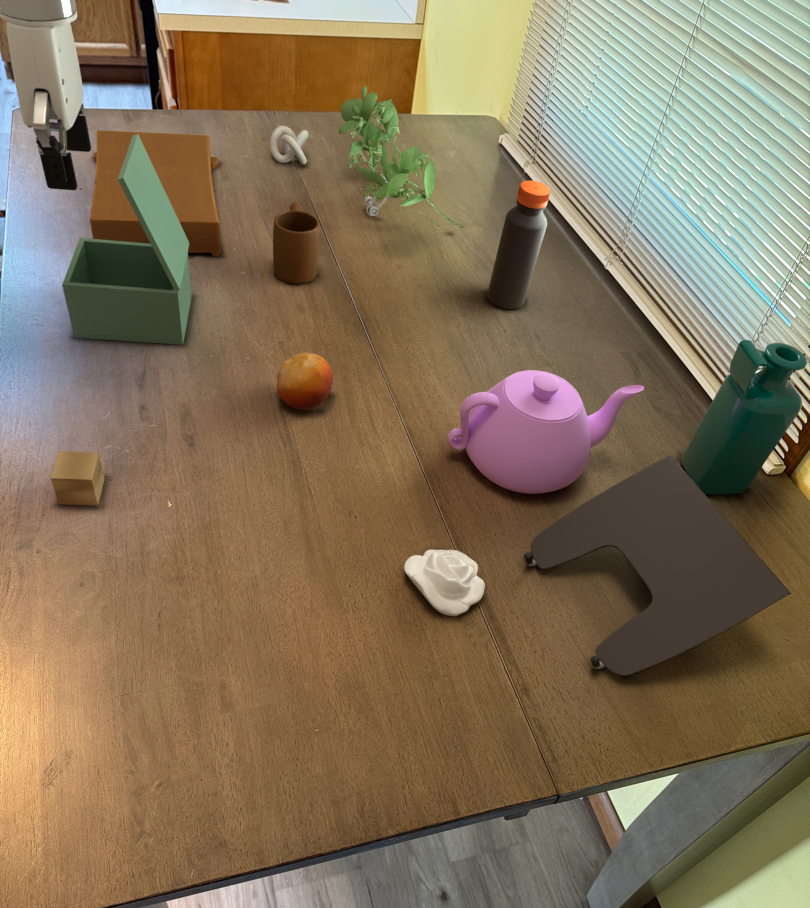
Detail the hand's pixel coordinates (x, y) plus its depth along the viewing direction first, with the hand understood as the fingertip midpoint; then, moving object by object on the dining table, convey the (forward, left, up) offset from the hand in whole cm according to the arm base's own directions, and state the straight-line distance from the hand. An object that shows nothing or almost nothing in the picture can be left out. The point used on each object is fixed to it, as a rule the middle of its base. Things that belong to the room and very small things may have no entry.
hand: (70, 168), depth 91 cm
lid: (+7, +11, -11) cm, 17 cm away
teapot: (+60, -16, -28) cm, 68 cm away
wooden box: (+1, +46, -28) cm, 53 cm away
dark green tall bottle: (+87, -18, -28) cm, 93 cm away
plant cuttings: (+45, +51, -28) cm, 73 cm away
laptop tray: (+68, -40, -28) cm, 84 cm away
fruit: (+28, -6, -28) cm, 40 cm away
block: (+1, -26, -28) cm, 38 cm away
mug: (+26, +29, -28) cm, 48 cm away
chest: (+2, +11, -27) cm, 30 cm away
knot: (+24, +69, -28) cm, 78 cm away
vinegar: (+63, +24, -28) cm, 73 cm away
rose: (+45, -39, -28) cm, 66 cm away
